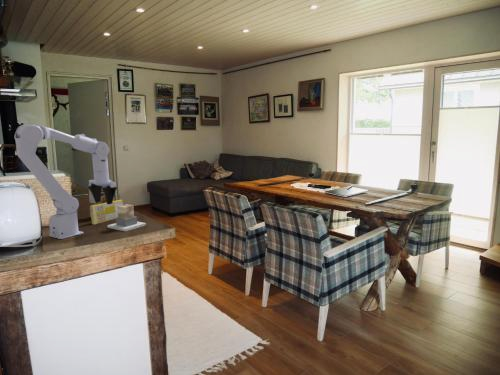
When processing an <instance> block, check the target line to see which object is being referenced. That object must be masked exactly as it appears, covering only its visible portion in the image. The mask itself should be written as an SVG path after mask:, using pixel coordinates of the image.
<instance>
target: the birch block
mask: <svg viewBox="0 0 500 375" xmlns="http://www.w3.org/2000/svg"><path fill="white" fill-rule="evenodd" d="M134 216H135V207H134V205H133V204H127V203H126V204H123V205H121V206H118V218H122V219H128V218H132V217H134Z"/></svg>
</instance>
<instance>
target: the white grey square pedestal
mask: <svg viewBox="0 0 500 375" xmlns="http://www.w3.org/2000/svg"><path fill="white" fill-rule="evenodd" d="M115 221H116V222H115V223H111V224H108V225H107V229H112V230H117V231H121V232H129V231H131V230H135V229H138V228H143V227H146V226H147V223H146V222H141V221H138V216H137V215H136V216H135V215H134V217H132V218H128V219H122V218H116V219H115ZM145 225H146V226H145Z"/></svg>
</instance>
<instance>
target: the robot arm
mask: <svg viewBox="0 0 500 375" xmlns="http://www.w3.org/2000/svg"><path fill="white" fill-rule="evenodd" d="M15 130H16V131H15V133H14V140H15V146H16V147H15V148H16V155H17V157H18V158H19V159H20V161H21V162H22V163H23V164H24V165H25V167H26V168H27V169H28V170H29V171H30V173H31V175H33V176H34V177H35V179H36V180H37V181H38V182H39V184H41V186H42V187H43V188H44V190H46V192H47V193H48V195H49V198H50V199H51V201H52V203H53V206H54V208H55V209H56V211H55V214H52V215H51V216H49V219H48V224H49V225H48V226H49V237H52V238H55V239H58V240H64V239H67V238H70V237H75V236H78V235H82V234H84V231H82V230H81V231H80V230H79V221H78V209H79V206H80V203H79V202H80V201H79V200H78V198H76V197H74V196H72V195H71V194H70V193H69V191H67V190H66V189H64V188H63V186H62V185H61V184H60V183H59V181H58V180H57V179H56V177H54V175H53V174H52V173H51V172H50V170H49V169H48V168H47V167H46V165H45V164H44V162H42V160H41V159H40V157H39V156H38V155H37V154H36V152H37V148H38V146H39V144H40V143H41V141H42V140H49V139H51V140H55V141H58V142H62V143H65V144H69V145H71V146H72V149H74V150H78V151H81V152H85V153H89V154H91V158H92V168H93V169H92V170H93V179H89V180H88V187H87V189H88V191H89V190H90V191H91V193H92V195H93V197H94V200H95V202H96V203H97V202H101V189H103V191H104V193H105V196H106V202H107V204H112V203H113V197H115V193H116V192H117V189H118V186H117V184H116V182H115V181H112V179H110V174H109V173H110V172H109V171H110V170H109V162H108V161H109V159H108V158H109V157H108V154H109V152H110V151H111V150H110V149H111V148H110V147H109V145H108V144H107V142H105V141H99V140H98V139H97V138H95V137H94V138H92V137H88V136H86V134H84V133H80V134H79V133H78V134H75V135H71V134H68V133H66V132H63V131H60V130H56V129H54V128H52V127H47V126H42V125H37V124H33V123H32V124H21V125H20V126H18V127H17V128H16V129H15ZM103 184H104V185H103ZM89 185H91V186H89ZM102 186H107V187H105V188H102Z"/></svg>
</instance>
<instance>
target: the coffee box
mask: <svg viewBox="0 0 500 375" xmlns="http://www.w3.org/2000/svg"><path fill="white" fill-rule="evenodd" d="M103 185H104V184H103ZM89 186H91V185H89V184H88V187H89ZM105 187H107V186H102V188H105ZM88 197H89V198H88V200H89V207H90V206H93V205H98V204H102V203H107V202H106V196H105V193H104V191H103V189H101V202H97V203H96V202H95V200H94V197H93V195H92V193H91V191H90V190H89V189H88ZM114 197H115V196H114ZM114 197H113V201H115V199H114ZM89 215H90V217H89V218H91V210H90V209H89Z"/></svg>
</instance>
